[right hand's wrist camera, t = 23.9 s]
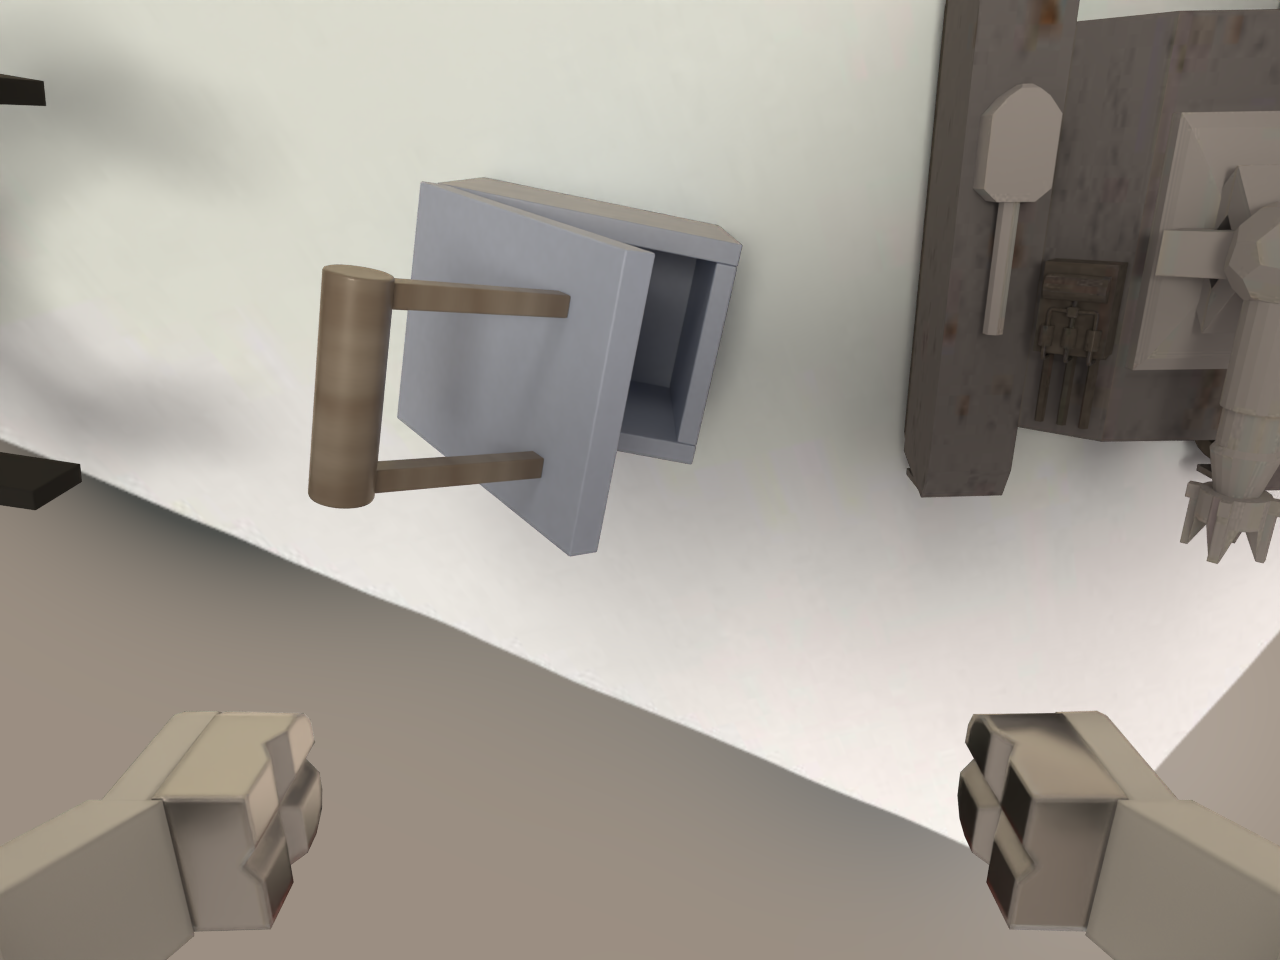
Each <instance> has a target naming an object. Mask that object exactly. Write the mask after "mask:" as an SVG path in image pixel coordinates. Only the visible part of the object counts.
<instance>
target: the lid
mask: <svg viewBox="0 0 1280 960" xmlns="http://www.w3.org/2000/svg"><path fill="white" fill-rule="evenodd" d="M654 258H655V254H654V253H653V252H650V251H647V250H644V249H640V248H637V247H634V246H631V245H628V244H625V243H622V242H619V241H616V240H613V239H610V238H607V237H604V236H601V235H598V234H595V233H591V232H588V231H585V230H582V229H579V228H576V227H573V226H570V225H567V224H564V223H561V222H558V221H555V220H552V219H549V218H546V217H542V216H539V215H536V214H533V213H530V212H527V211H524V210H521V209H518V208H515V207H512V206H509V205H506V204H503V203H500V202H497V201H494V200H490V199H487V198H484V197H481V196H478V195H475V194H472V193H469V192H466V191H463V190H460V189H457V188H454V187H451V186H448V185H443V184H436V183H430V182H423V181H422V182H421V185H420V195H419V205H418V215H417V225H416V235H415V245H414V255H413V265H412V275H411V279H398V278H394V277H393V276H392V275H390V274H388V273H386V272H383V271H379V270H375V269H371V268H366V267H360V266H352V265H328V266H325V267H324V268H323V269H322V283H321V299H320V314H319V330H318V345H317V361H316V376H315V392H314V407H313V423H312V438H311V454H310V469H309V485H308V494H309V497H310V498H311V499H312V500H313V501H314V502H316V503H318V504H321V505H324V506H328V507H333V508H358V507H362V506H365V505H368V504H369V503H371V502H372V501H373V499H374V496H375V493H383V492H394V491H405V490H416V489H427V488H438V487H448V486H459V485H470V484H480V485H481V486H483V487H484V488H485V489H486V490H488V491H489V492H490V493H491V494H493V495H494V496H495V497H496V498H498V499H499V500H500V501H501V502H503V503H504V504H505V505H506V506H508V507H509V508H510V509H511V510H513V511H514V512H515V513H516V514H517V515H519V516H520V517H521V518H522V519H524V520H525V521H526V522H527V523H529V524H530V525H531V526H532V527H534V528H535V529H536V530H537V531H539V532H540V533H541V534H542V535H544V536H545V537H546V538H547V539H549V540H550V541H551V542H552V543H553V544H555V545H556V546H557V547H558V548H560V549H561V550H562V551H563V552H565V553H566V554H567V555H568V556H575V555H581V554H587V553H593V552H597V549H598V543H599V538H600V533H601V528H602V523H603V518H604V513H605V508H606V503H607V498H608V492H609V487H610V482H611V477H612V472H613V467H614V462H615V457H616V452H617V447H618V442H619V436H620V431H621V426H622V421H623V416H624V411H625V406H626V401H627V396H628V391H629V386H630V380H631V375H632V370H633V365H634V360H635V355H636V350H637V345H638V340H639V335H640V329H641V324H642V319H643V314H644V309H645V304H646V299H647V294H648V289H649V284H650V279H651V273H652V268H653V263H654ZM392 309H393V310H408V314H407V324H406V334H405V344H404V354H403V364H402V374H401V384H400V394H399V404H398V414H397V418H398V419H400V420H401V421H402V422H403V423H404V424H406V425H407V426H408V427H409V428H411V429H412V430H413V431H414V432H416V433H417V434H418V435H419V436H421V437H422V438H423V439H424V440H426V441H427V442H428V443H429V444H431V445H432V446H433V447H434V448H436V449H437V450H438V451H439V452H440V453H442V454H443V455H444V456H445V457H436V458H421V459H406V460H391V461H378V454H379V443H380V432H381V422H382V411H383V401H384V390H385V379H386V369H387V358H388V347H389V337H390V326H391V315H392Z"/></svg>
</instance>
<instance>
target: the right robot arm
mask: <svg viewBox="0 0 1280 960" xmlns="http://www.w3.org/2000/svg"><path fill="white" fill-rule="evenodd" d="M314 743H315V740H314V735H313V730H312V725H311V720H310V719H309V718H308V717H307V716H306V715H305V714H304V713H272V712H227V711H226V712H219V711H184V712H182V713H179V714H176V715H174V716H173V717H172V718H171V719H170V720H169V721H168V722H167V723H166V725H165V726H164V727H163V728H162V729H161V730H160V732H159V733H158V734H157V735H156V736H155V737H154V739H153V740H152V741H151V742H150V743H149V745H148V746H147V747H146V748H145V749H144V750H143V752H142V753H141V754H140V755H139V756H138V757H137V759H136V760H135V761H134V762H133V763H132V765H131V766H130V767H129V768H128V769H127V770H126V772H125V773H124V774H123V775H122V776H121V777H120V779H119V780H118V781H117V782H116V783H115V785H114V786H113V787H112V788H111V789H110V790H109V792H108V793H107V794H106V795H105V796H104V798H103V799H102V800H87V801H85V802H83V803H82V804H80V805H78V806H76V807H74V808H72V809H70V810H68V811H66V812H64V813H62V814H61V815H59V816H57V817H55V818H53V819H51V820H49V821H47V822H45V823H43V824H41V825H39V826H38V827H36V828H34V829H32V830H30V831H28V832H26V833H24V834H22V835H20V836H18V837H16V838H15V839H13V840H11V841H9V842H7V843H5V844H3V845H1V846H0V960H167V959H168V958H169V957H170V956H171V955H173V954H174V953H175V952H176V951H177V950H178V949H179V948H181V947H182V946H183V945H184V944H185V943H186V942H188V941H189V940H190V939H191V938H192V937H193V936H194V932H195V931H228V930H262V929H271V928H272V925H273V923H274V921H275V919H276V917H277V915H278V913H279V911H280V909H281V907H282V905H283V903H284V901H285V899H286V897H287V895H288V893H289V891H290V889H291V886H292V884H293V876H292V870H291V864H293V863H294V862H295V861H297V860H298V859H300V858H301V857H302V856H304V855H305V854H306V853H308V851H309V849H310V847H311V844H312V842H313V840H314V838H315V836H316V833H317V829H318V824H319V820H320V815H321V810H322V785H321V778H320V772H319V771H318V770H317V769H316V768H315V767H314V766H313V765H312V764H311V763H310V762H309V761H308V760H307V759H306V757H307V756H308V754H309V752H310V750H311V748H312V747H313V745H314ZM965 743H966V745H967V747H968V748H969V750H970V752H971V754H972V756H973V758H974V759H973V760H972V761H971V762H970V763H969V764H968V765H967V766H966V767H965V768H964V769H963V770H962V771H961V772H960V779H959V787H958V806H959V817H960V822H961V825H962V829H963V832H964V836H965V838H966V840H967V842H968V845H969V847H970V849H971V851H972V853H974V854H975V855H976V856H978V857H979V858H980V859H982V860H983V861H985V862H986V863H987V864H989V870H988V876H987V884H988V886H989V889H990V890H991V893H992V895H993V897H994V899H995V901H996V903H997V905H998V907H999V909H1000V911H1001V913H1002V915H1003V917H1004V919H1005V921H1006V923H1007V925H1008V927H1009V929H1016V930H1051V931H1085V932H1086V936H1087V937H1088V938H1089V939H1091V940H1092V941H1093V942H1094V943H1095V944H1096V945H1097V946H1099V947H1100V948H1101V949H1102V950H1103V951H1104V952H1106V953H1107V954H1108V955H1109V956H1110V957H1111V958H1112V959H1114V960H1280V846H1278V845H1277V844H1275V843H1273V842H1271V841H1269V840H1267V839H1265V838H1263V837H1261V836H1259V835H1258V834H1256V833H1254V832H1252V831H1250V830H1248V829H1246V828H1244V827H1242V826H1240V825H1239V824H1237V823H1235V822H1233V821H1231V820H1229V819H1227V818H1225V817H1223V816H1221V815H1219V814H1218V813H1216V812H1214V811H1212V810H1210V809H1208V808H1206V807H1204V806H1202V805H1200V804H1198V803H1197V802H1195V801H1193V800H1178V799H1177V798H1176V796H1175V795H1174V794H1173V793H1172V792H1171V790H1170V789H1169V788H1168V787H1167V786H1166V785H1165V783H1164V782H1163V781H1162V780H1161V779H1160V778H1159V776H1158V775H1157V774H1156V773H1155V772H1154V770H1153V769H1152V768H1151V767H1150V766H1149V765H1148V763H1147V762H1146V761H1145V760H1144V759H1143V758H1142V756H1141V755H1140V754H1139V753H1138V752H1137V751H1136V749H1135V748H1134V747H1133V746H1132V745H1131V743H1130V742H1129V741H1128V740H1127V739H1126V738H1125V736H1124V735H1123V734H1122V733H1121V732H1120V731H1119V729H1118V728H1117V727H1116V726H1115V725H1114V724H1113V722H1112V721H1111V720H1110V719H1109V718H1108V716H1106V715H1104V714H1102V713H1100V712H1098V711H1074V712H1056V713H1028V714H973V716H972V718H971V720H970V722H969V724H968V728H967V734H966V740H965Z"/></svg>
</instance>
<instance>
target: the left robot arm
mask: <svg viewBox="0 0 1280 960" xmlns="http://www.w3.org/2000/svg"><path fill="white" fill-rule="evenodd" d="M0 104H8V105H34V106H46V101H45V90H44V81H39V80H33V79H27V78H21V77H16V76H10V75H4V74H0ZM81 482H82V479H81V468H80V464H76V463H70V462H63V461H56V460H49V459H43V458H36V457H29V456H23V455H16V454H9V453H3V452H0V505H3V506H10V507H17V508H24V509H31V510H37V509H38V508H40V507H42V506H43V505H45V504H46V503H48V502H50V501H51V500H53V499H55V498H56V497H58V496H59V495H61V494H63V493H64V492H66V491H68V490H69V489H71V488H73V487H74V486H76V485H77V484H79V483H81Z"/></svg>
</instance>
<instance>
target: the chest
mask: <svg viewBox="0 0 1280 960" xmlns="http://www.w3.org/2000/svg"><path fill="white" fill-rule="evenodd" d="M438 184H443V185H448V186H451V187H454V188H457V189H460V190H463V191H466V192H469V193H472V194H475V195H478V196H481V197H484V198H487V199H490V200H494V201H497V202H500V203H503V204H506V205H509V206H512V207H515V208H518V209H521V210H524V211H527V212H530V213H533V214H536V215H539V216H542V217H546V218H549V219H552V220H555V221H558V222H561V223H564V224H567V225H570V226H573V227H576V228H579V229H582V230H585V231H588V232H591V233H595V234H598V235H601V236H604V237H607V238H610V239H613V240H616V241H619V242H622V243H625V244H628V245H631V246H634V247H637V248H640V249H644V250H647V251H650V252H653V253H654V254H655V258H654V263H653V268H652V273H651V279H650V284H649V289H648V294H647V299H646V304H645V309H644V314H643V319H642V324H641V329H640V335H639V340H638V345H637V350H636V355H635V360H634V365H633V370H632V375H631V380H630V386H629V391H628V396H627V401H626V406H625V411H624V416H623V421H622V426H621V431H620V436H619V442H618V447H617V451H621V452H626V453H632V454H637V455H643V456H648V457H654V458H659V459H664V460H670V461H675V462H681V463H686V464H692V462H693V458H694V453H695V449H696V446H695V445H696V444H697V440H698V436H699V431H700V427H701V423H702V418H703V414H704V410H705V405H706V401H707V397H708V392H709V388H710V384H711V379H712V375H713V371H714V366H715V362H716V358H717V353H718V349H719V344H720V340H721V336H722V331H723V327H724V323H725V318H726V314H727V310H728V305H729V301H730V297H731V292H732V288H733V284H734V279H735V275H736V271H737V267H736V266H738V262H739V258H740V254H741V249H742V245H741V244H740V243H739V242H738V241H737V240H736V239H734V238H733V237H732V236H731V235H730V234H728V233H727V232H726V231H725V230H724V229H722V228H721V227H720V226H718V225H714V224H709V223H704V222H699V221H694V220H690V219H685V218H680V217H675V216H670V215H665V214H660V213H655V212H650V211H646V210H641V209H636V208H631V207H626V206H621V205H616V204H611V203H607V202H602V201H597V200H592V199H587V198H582V197H577V196H572V195H567V194H563V193H558V192H553V191H548V190H543V189H538V188H533V187H528V186H524V185H519V184H514V183H509V182H504V181H499V180H494V179H489V178H474V179H466V180H458V181H449V182H441V183H438Z"/></svg>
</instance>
